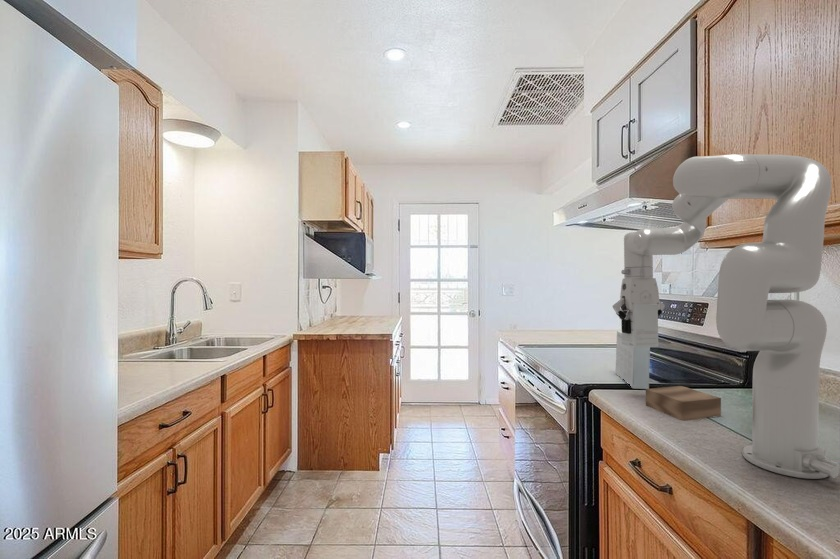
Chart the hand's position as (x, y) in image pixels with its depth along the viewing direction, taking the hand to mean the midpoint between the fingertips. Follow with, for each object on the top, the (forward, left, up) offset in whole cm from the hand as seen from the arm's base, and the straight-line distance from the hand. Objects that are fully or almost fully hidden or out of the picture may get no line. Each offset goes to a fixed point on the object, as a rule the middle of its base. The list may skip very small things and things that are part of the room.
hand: (639, 332), depth 123 cm
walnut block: (-13, -3, -20) cm, 24 cm away
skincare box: (+16, -10, -20) cm, 27 cm away
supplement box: (0, 0, -4) cm, 4 cm away
